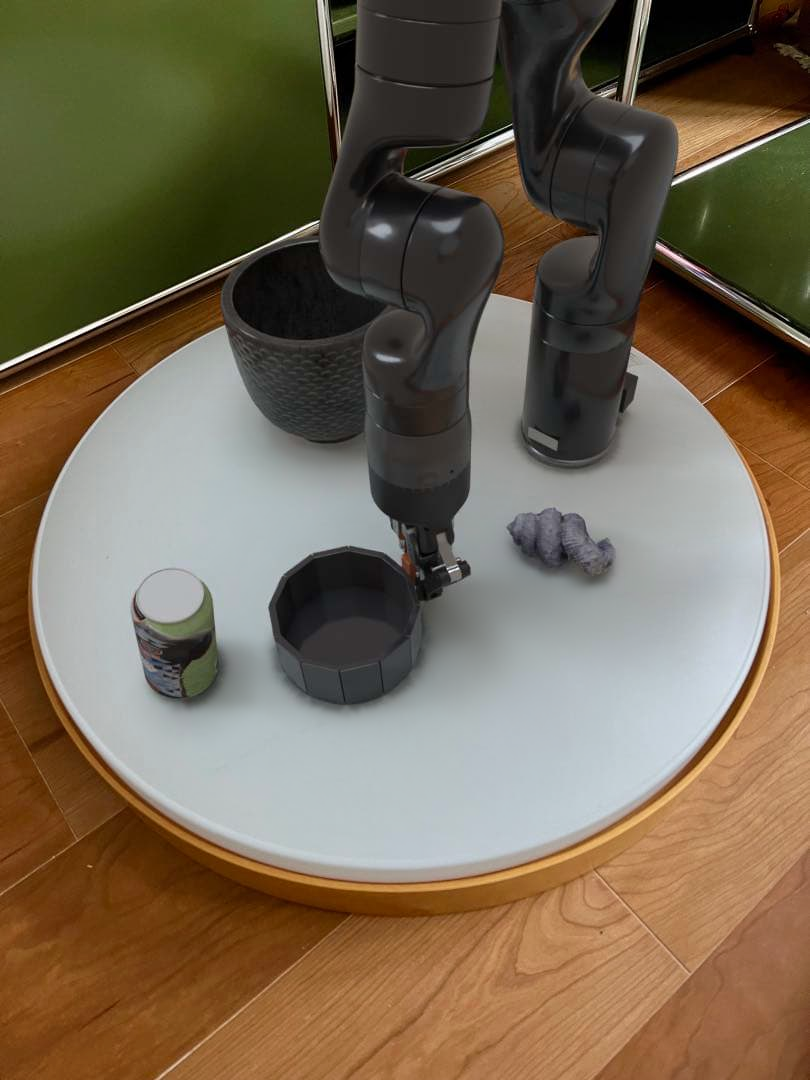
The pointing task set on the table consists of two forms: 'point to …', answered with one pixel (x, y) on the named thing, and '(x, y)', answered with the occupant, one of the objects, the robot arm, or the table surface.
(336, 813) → the table surface
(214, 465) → the table surface
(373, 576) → the dark grey saucepan
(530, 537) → the seashell
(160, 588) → the beverage can
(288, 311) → the planter
